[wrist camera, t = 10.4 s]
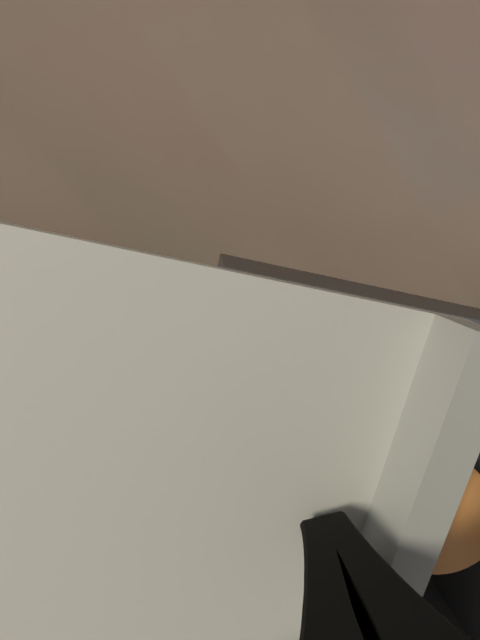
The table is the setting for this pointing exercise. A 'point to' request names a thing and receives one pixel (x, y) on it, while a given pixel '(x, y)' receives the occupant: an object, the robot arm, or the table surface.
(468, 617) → the box
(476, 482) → the tan rounded capsule
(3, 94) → the table surface
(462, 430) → the lid
